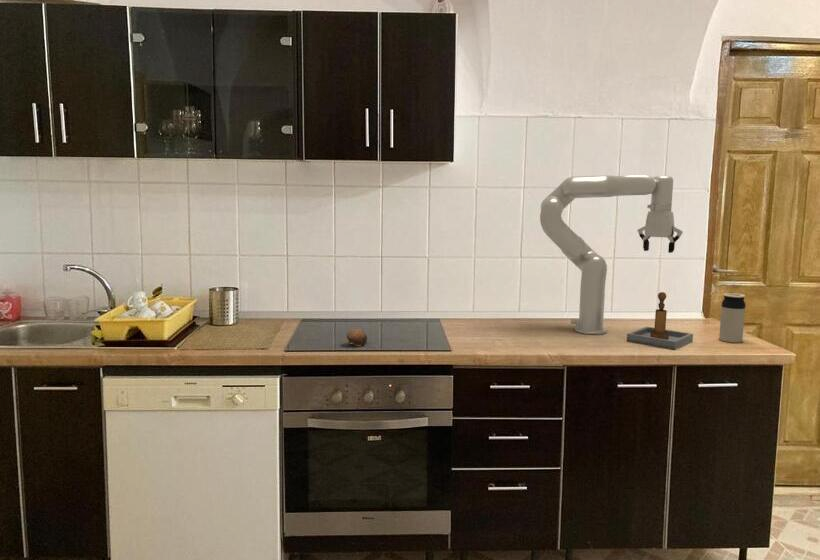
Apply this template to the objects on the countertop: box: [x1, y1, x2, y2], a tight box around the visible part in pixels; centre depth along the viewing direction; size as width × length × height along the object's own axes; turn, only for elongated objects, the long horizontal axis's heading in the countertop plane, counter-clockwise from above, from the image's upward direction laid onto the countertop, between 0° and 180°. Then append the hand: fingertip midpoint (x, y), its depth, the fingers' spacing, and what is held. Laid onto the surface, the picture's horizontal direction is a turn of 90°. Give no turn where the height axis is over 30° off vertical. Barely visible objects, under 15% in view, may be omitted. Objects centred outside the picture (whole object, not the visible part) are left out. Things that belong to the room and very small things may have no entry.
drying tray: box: [626, 326, 694, 351], centre depth 233 cm, size 18×18×3 cm
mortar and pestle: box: [650, 291, 669, 340], centre depth 232 cm, size 7×6×18 cm
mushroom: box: [346, 328, 368, 347], centre depth 225 cm, size 8×8×6 cm
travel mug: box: [718, 292, 746, 344], centre depth 234 cm, size 8×8×18 cm
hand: (658, 251), depth 241 cm, fingers open, 9 cm apart
